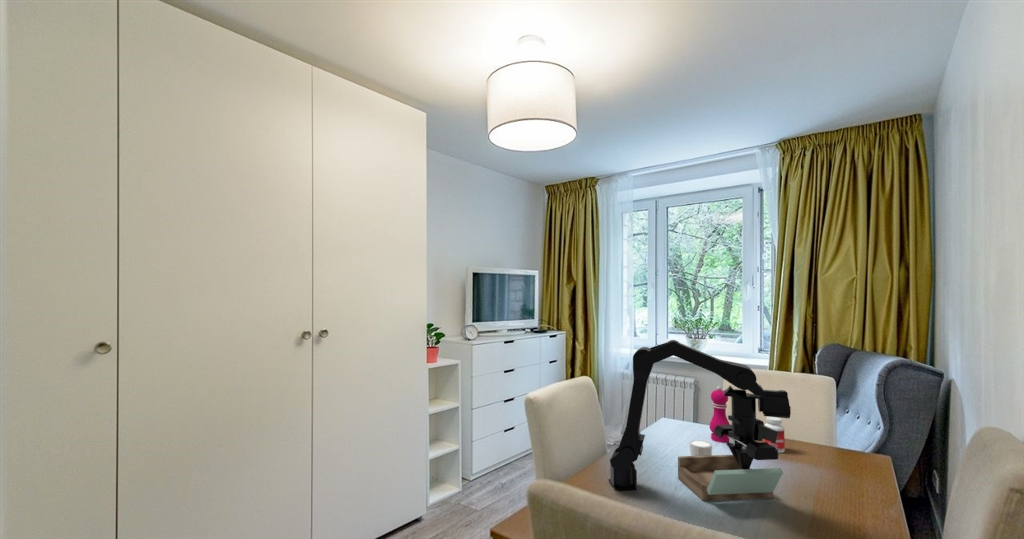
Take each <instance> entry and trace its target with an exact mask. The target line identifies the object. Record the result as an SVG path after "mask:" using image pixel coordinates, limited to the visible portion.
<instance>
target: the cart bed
mask: <svg viewBox="0 0 1024 539" xmlns="http://www.w3.org/2000/svg"><path fill="white" fill-rule="evenodd" d="M715 470H740V468H739V466H738V464H737V462H736V460H735V458H734V456H733V454H712V455H709V456H691V455H686V456H685V455H682V456H679V455H678V456H677V479H678V480H679V481H680V483H682V484H683V485H684V486H685V487H687V489H689V491H691V492H692V493H693V494H694V495H695V496H697V498H698V499H700V500H701V501H702V502H711V501H732V500H733V501H736V500H737V501H738V500H757V499H759V500H760V499H761V500H762V499H774V491H773V492H764V493H740V494H716V495H709V494H708V492H707V488H708V486H709V483H710V481H711V478H712V476H713V473H714V471H715Z"/></svg>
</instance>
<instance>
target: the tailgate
mask: <svg viewBox="0 0 1024 539" xmlns="http://www.w3.org/2000/svg"><path fill="white" fill-rule="evenodd" d="M783 473H784V472H783V469H782V468H781V467H775V468H774V467H773V468H770V467H769V468H750V469H741V470H715V471H714V473H713V476H712V478H711V481H710V483H709V486H708V488H707V492H708V494H709V495H716V494H740V493H764V492H773V493H774V491H775V489H776V487H777V485H778V483H779V481H780V479H781V478H782V475H783Z"/></svg>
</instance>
